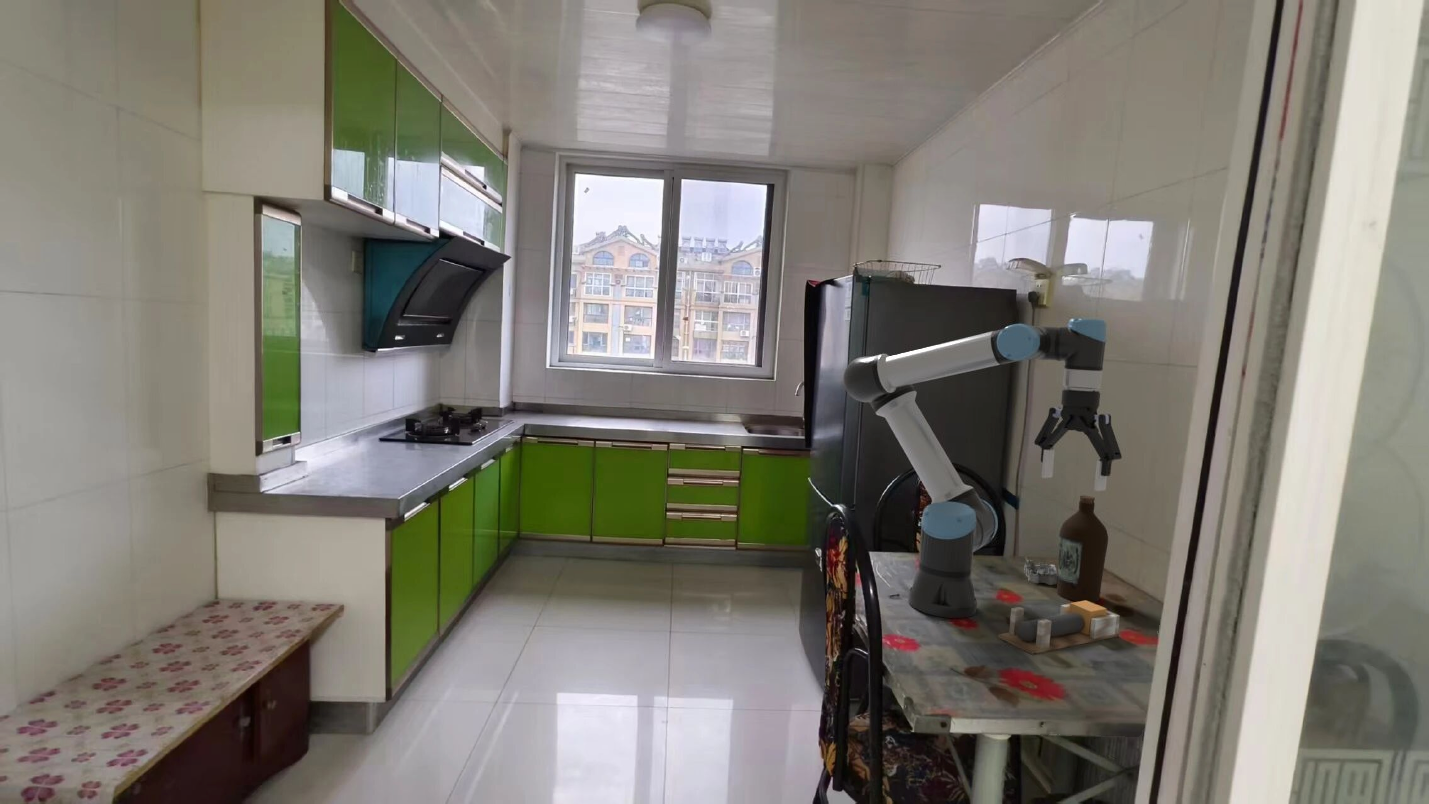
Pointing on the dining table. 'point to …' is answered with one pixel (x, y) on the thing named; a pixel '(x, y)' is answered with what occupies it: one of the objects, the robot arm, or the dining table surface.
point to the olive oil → (1082, 554)
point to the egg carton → (1040, 572)
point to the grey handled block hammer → (1064, 621)
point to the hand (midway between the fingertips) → (1072, 483)
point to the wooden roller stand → (1099, 631)
